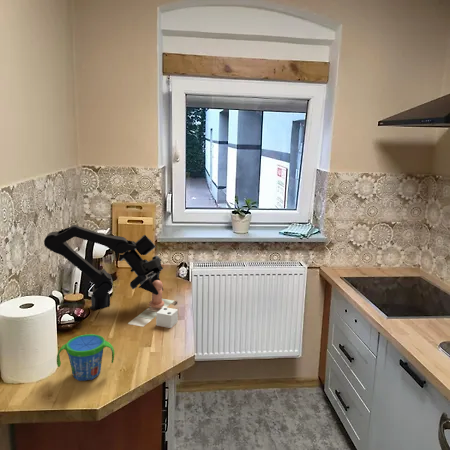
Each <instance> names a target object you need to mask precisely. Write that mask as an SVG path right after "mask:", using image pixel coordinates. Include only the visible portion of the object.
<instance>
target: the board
mask: <svg viewBox="0 0 450 450" xmlns="http://www.w3.org/2000/svg"><path fill="white" fill-rule="evenodd" d="M162 301H164V306H163V307H166V308H168V307H169V306H170V305H172V306H177V304H178V301H177V300H173V299H166V298H162ZM163 307H159V308H154V307H151V306H150V305H149V307H148V308H146V309H145V310H144V311H142V312H141V313H139V314H138V315H137V316H135V317H134V318H133V319H132V320H130V321H129V322H128V323H127V325H131V326H132V325H133V326H137V327H142V328H144V327H145V326H146V325H147V324H149V323H150V322H151V321H152V320H154V319H156V313H157V312H158V311H159V310H160V309H162V308H163Z"/></svg>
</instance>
